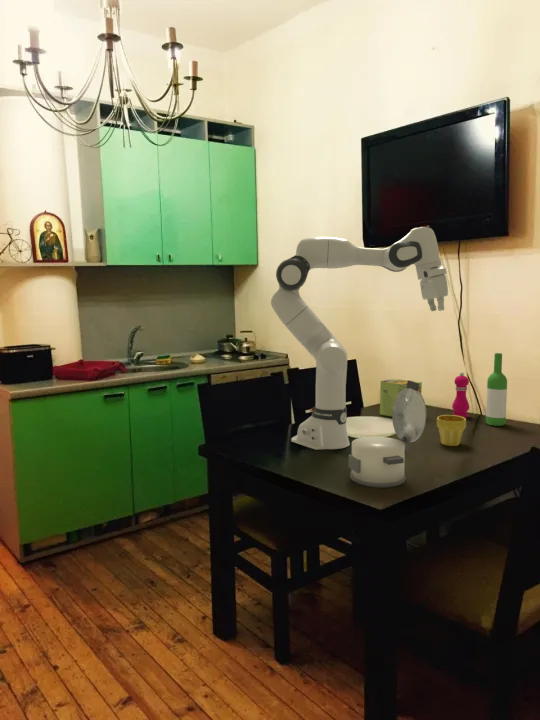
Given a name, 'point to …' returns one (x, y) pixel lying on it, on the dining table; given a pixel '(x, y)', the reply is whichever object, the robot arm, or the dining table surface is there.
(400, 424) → the lid
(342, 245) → the robot arm
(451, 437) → the plant pot
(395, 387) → the protein box
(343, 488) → the dining table surface
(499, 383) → the wine bottle
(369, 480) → the cooker
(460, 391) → the pepper mill
